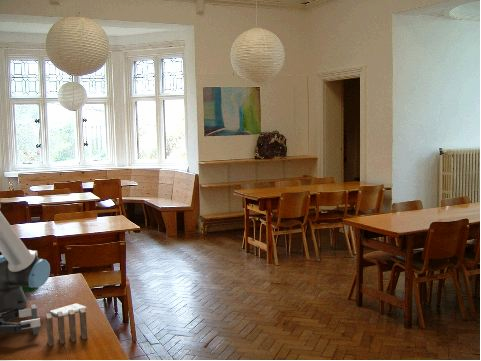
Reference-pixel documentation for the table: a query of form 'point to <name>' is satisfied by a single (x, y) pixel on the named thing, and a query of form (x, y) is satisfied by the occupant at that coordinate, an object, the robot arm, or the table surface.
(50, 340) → the walnut domino
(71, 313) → the walnut domino
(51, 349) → the table surface
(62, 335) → the walnut domino
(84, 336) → the walnut domino
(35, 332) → the black domino
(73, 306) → the external hard drive
